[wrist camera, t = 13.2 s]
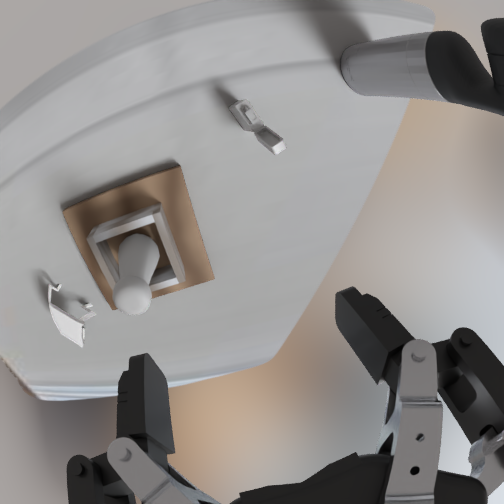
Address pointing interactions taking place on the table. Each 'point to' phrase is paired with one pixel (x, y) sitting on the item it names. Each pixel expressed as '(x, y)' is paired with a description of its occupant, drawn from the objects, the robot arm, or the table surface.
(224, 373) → the table surface
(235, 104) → the lighter
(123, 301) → the salt shaker
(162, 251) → the wooden base with frame
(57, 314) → the white bent open piece
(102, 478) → the robot arm
